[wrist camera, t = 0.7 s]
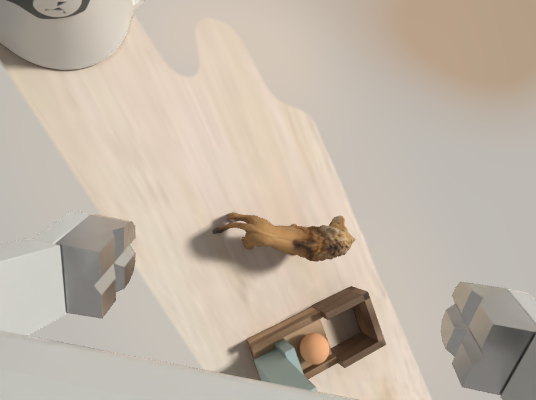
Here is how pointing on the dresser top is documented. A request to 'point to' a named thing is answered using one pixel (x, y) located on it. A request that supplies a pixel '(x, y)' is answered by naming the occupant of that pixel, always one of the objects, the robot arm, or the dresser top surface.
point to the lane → (293, 339)
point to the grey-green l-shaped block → (282, 367)
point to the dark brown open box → (366, 319)
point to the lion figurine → (294, 237)
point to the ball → (314, 348)
